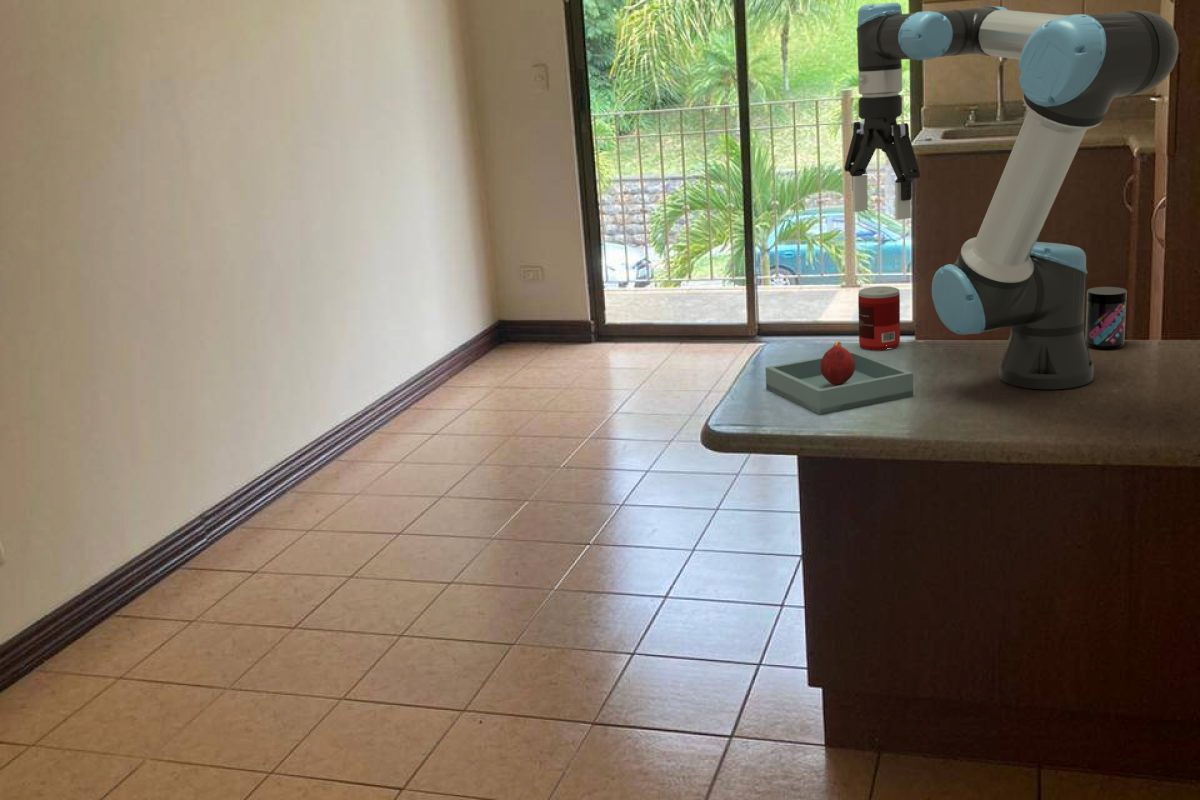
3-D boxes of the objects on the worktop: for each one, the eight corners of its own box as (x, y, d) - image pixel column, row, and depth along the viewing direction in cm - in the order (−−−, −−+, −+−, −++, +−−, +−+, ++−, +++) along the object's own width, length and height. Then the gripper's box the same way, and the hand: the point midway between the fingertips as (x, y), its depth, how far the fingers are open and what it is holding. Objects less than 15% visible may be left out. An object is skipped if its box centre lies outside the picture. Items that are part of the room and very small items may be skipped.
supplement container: (1079, 348, 223) (1081, 293, 220) (1092, 339, 228) (1094, 285, 225) (1117, 352, 219) (1119, 295, 216) (1129, 343, 224) (1132, 288, 221)
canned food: (905, 342, 237) (905, 287, 234) (891, 352, 230) (891, 295, 227) (867, 339, 241) (867, 285, 238) (853, 349, 234) (852, 293, 231)
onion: (855, 391, 205) (854, 345, 202) (820, 392, 206) (819, 346, 204) (855, 381, 210) (854, 337, 208) (821, 382, 211) (820, 337, 209)
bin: (913, 396, 203) (913, 373, 202) (819, 414, 197) (819, 391, 196) (854, 372, 219) (853, 351, 218) (766, 389, 213) (765, 367, 212)
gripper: (824, 95, 224) (826, 210, 230) (903, 98, 202) (903, 224, 208) (859, 92, 227) (860, 205, 233) (941, 94, 204) (940, 219, 210)
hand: (881, 214), depth 220 cm, fingers open, 13 cm apart
